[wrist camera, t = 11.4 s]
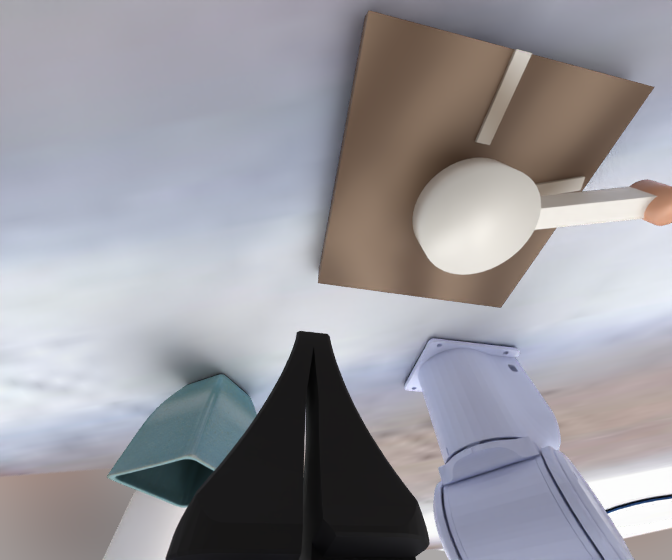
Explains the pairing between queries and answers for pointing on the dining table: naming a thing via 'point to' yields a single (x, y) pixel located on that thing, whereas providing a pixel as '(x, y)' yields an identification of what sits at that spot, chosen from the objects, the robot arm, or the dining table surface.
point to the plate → (643, 527)
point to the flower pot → (185, 440)
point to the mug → (145, 529)
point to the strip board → (456, 148)
